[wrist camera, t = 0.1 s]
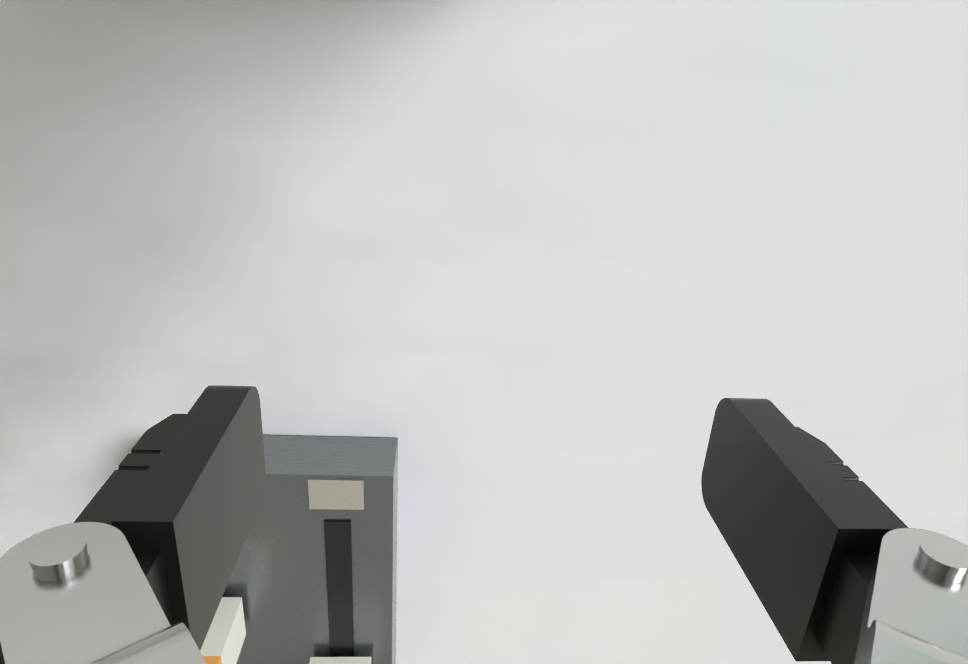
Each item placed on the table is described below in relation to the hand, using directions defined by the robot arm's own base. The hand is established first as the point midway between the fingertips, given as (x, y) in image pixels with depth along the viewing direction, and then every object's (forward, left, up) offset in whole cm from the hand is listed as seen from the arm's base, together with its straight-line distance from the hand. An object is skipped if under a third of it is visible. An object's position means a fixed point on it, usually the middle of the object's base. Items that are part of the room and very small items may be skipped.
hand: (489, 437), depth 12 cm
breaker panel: (+20, -8, -17) cm, 27 cm away
